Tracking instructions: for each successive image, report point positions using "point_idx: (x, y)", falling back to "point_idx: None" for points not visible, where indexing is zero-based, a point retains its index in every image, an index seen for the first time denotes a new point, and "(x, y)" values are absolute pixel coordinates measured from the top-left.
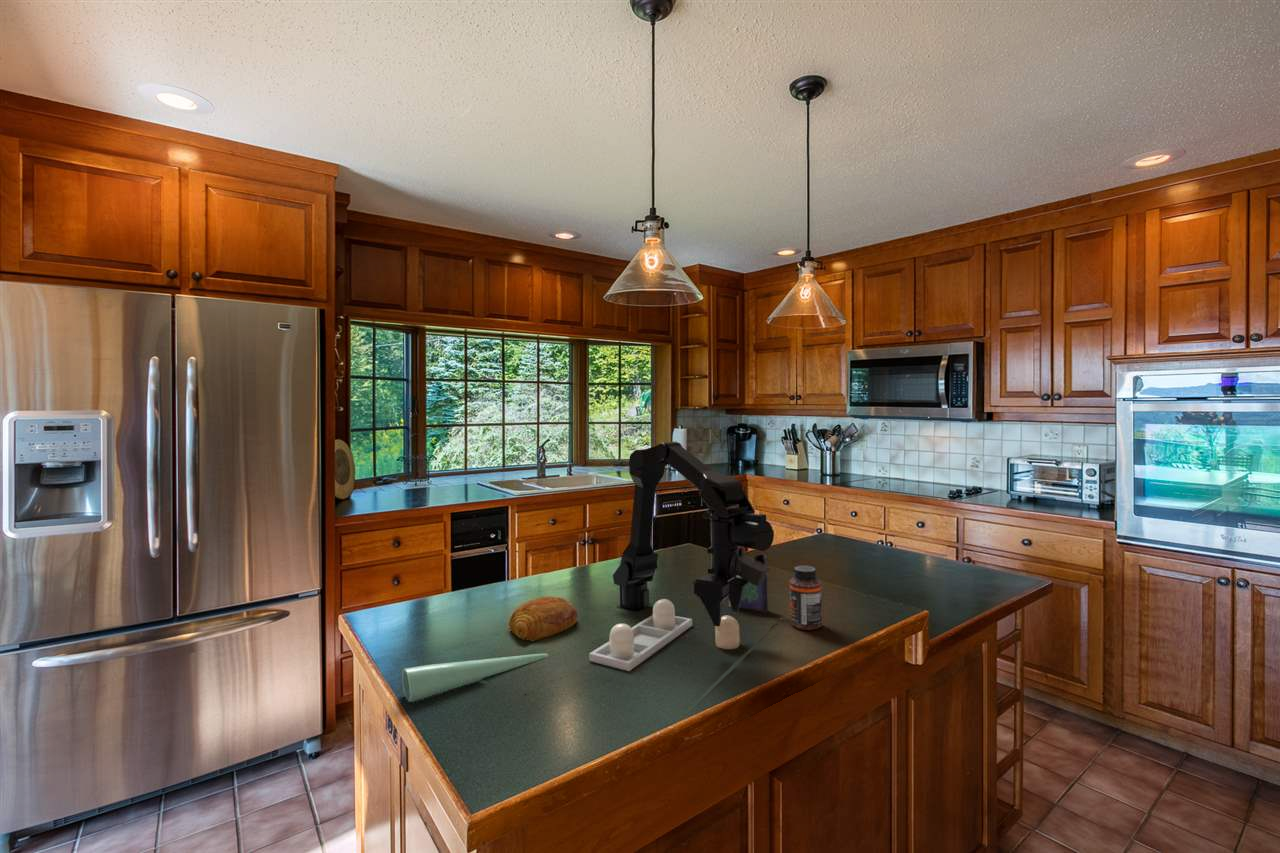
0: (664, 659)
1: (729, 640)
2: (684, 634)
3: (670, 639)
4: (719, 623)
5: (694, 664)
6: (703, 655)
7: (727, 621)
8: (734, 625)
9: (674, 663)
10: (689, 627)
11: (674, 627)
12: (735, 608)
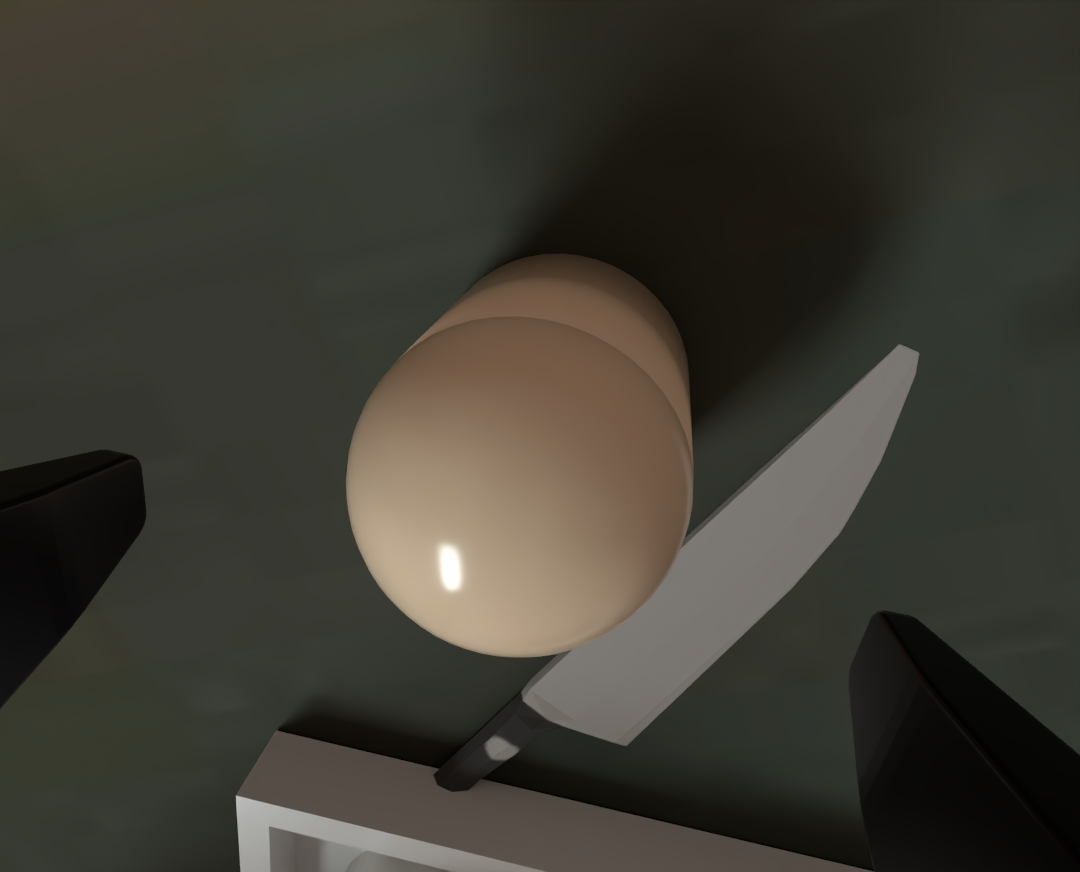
0: None
1: (678, 380)
2: (476, 772)
3: (656, 854)
4: (948, 647)
5: (1074, 593)
6: (833, 556)
7: (610, 528)
8: (598, 394)
9: (1071, 742)
10: (316, 759)
11: (411, 862)
12: (105, 511)
